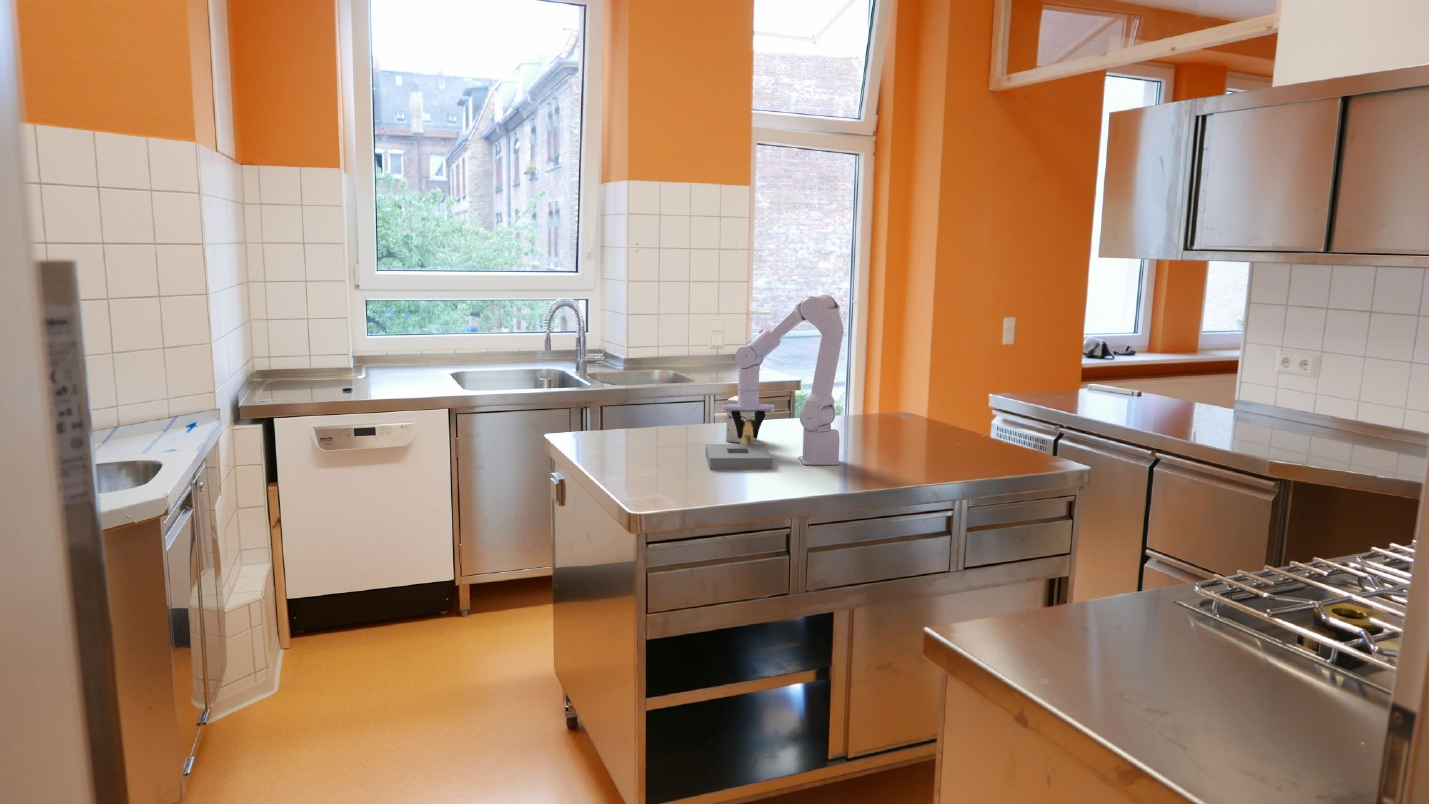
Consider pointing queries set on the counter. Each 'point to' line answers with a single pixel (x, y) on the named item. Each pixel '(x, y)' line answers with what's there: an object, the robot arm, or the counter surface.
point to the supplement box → (731, 428)
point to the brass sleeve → (747, 431)
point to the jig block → (738, 456)
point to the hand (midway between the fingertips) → (747, 437)
